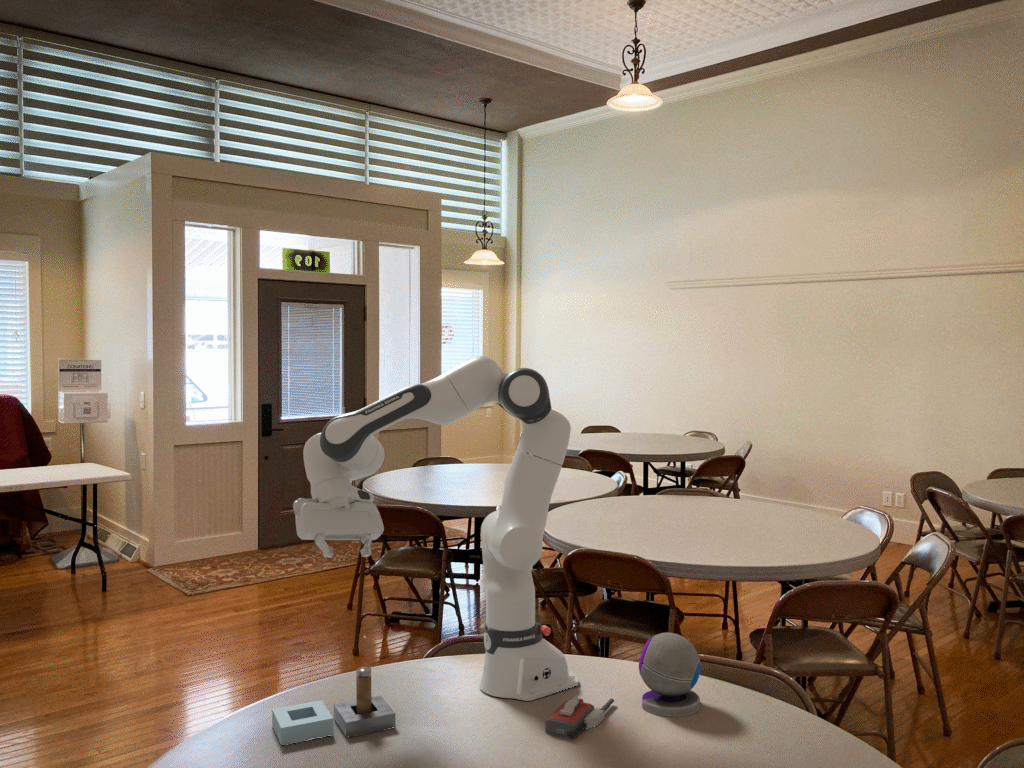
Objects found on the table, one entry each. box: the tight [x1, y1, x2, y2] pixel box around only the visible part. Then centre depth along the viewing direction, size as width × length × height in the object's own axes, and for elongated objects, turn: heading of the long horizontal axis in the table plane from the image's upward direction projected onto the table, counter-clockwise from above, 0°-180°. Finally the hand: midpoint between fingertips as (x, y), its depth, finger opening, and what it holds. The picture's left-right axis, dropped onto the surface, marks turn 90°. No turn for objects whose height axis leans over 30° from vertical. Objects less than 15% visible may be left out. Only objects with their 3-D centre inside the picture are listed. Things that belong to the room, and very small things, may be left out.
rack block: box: [271, 699, 334, 746], centre depth 163 cm, size 10×10×4 cm
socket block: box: [333, 695, 397, 738], centre depth 167 cm, size 10×10×3 cm
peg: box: [355, 666, 373, 715], centre depth 167 cm, size 3×3×11 cm
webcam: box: [638, 632, 701, 717], centre depth 175 cm, size 13×13×15 cm
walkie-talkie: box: [544, 696, 615, 739], centre depth 168 cm, size 9×4×20 cm
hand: (348, 555), depth 176 cm, fingers open, 8 cm apart
